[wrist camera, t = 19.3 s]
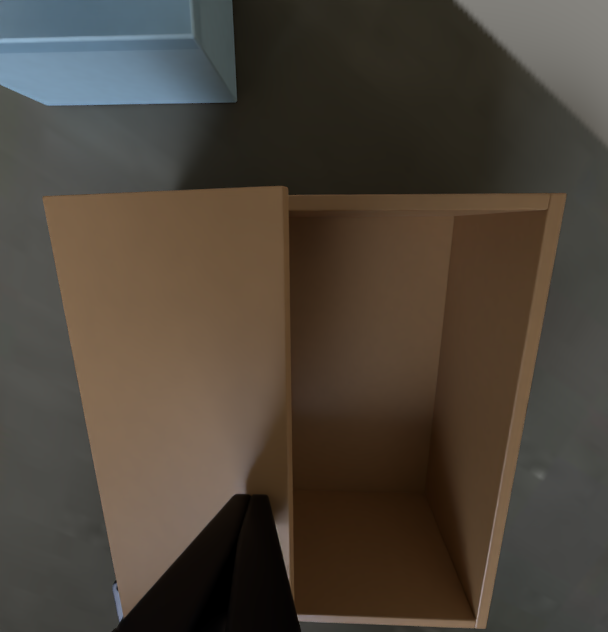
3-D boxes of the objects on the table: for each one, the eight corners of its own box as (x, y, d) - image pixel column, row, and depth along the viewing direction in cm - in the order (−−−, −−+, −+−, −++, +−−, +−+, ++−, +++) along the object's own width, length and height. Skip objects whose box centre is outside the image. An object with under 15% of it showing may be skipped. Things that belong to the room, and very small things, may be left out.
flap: (296, 704, 10) (292, 718, 10) (133, 627, 12) (126, 637, 12) (289, 187, 6) (283, 185, 6) (54, 196, 8) (41, 195, 8)
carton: (428, 493, 18) (486, 629, 12) (195, 487, 19) (136, 615, 13) (460, 206, 14) (567, 192, 8) (167, 208, 15) (61, 196, 9)
